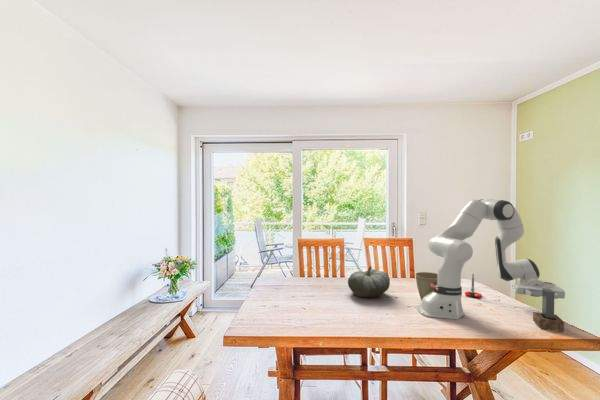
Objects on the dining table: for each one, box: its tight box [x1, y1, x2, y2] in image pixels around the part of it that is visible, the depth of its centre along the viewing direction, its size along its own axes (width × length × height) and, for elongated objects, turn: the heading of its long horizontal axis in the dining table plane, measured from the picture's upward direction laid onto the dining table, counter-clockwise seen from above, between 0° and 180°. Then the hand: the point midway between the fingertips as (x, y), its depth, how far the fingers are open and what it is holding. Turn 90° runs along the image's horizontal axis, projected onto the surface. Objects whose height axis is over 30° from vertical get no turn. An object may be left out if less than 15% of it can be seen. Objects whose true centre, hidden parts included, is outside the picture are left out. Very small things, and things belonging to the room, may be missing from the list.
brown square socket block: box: [532, 311, 565, 332], centre depth 142 cm, size 9×9×4 cm
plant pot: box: [415, 271, 437, 302], centre depth 172 cm, size 15×15×16 cm
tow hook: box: [464, 273, 483, 299], centre depth 186 cm, size 9×14×10 cm
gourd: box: [347, 266, 391, 298], centre depth 186 cm, size 25×25×17 cm
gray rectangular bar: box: [541, 288, 555, 320], centre depth 142 cm, size 3×5×16 cm, turn 158°
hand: (543, 295), depth 147 cm, fingers open, 8 cm apart
